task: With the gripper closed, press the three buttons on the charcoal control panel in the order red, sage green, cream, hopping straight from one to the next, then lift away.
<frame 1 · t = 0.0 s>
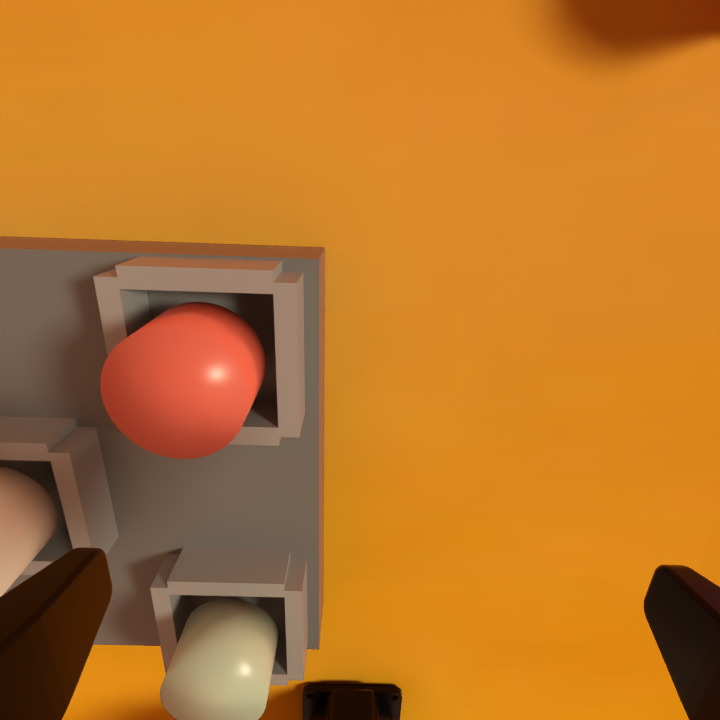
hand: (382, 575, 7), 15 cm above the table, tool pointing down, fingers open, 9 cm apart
red button: (191, 377, 15), point 6 cm above the table, slide at 0.0 cm
sage button: (223, 663, 20), point 6 cm above the table, slide at 0.0 cm
control panel: (159, 449, 24), on the table
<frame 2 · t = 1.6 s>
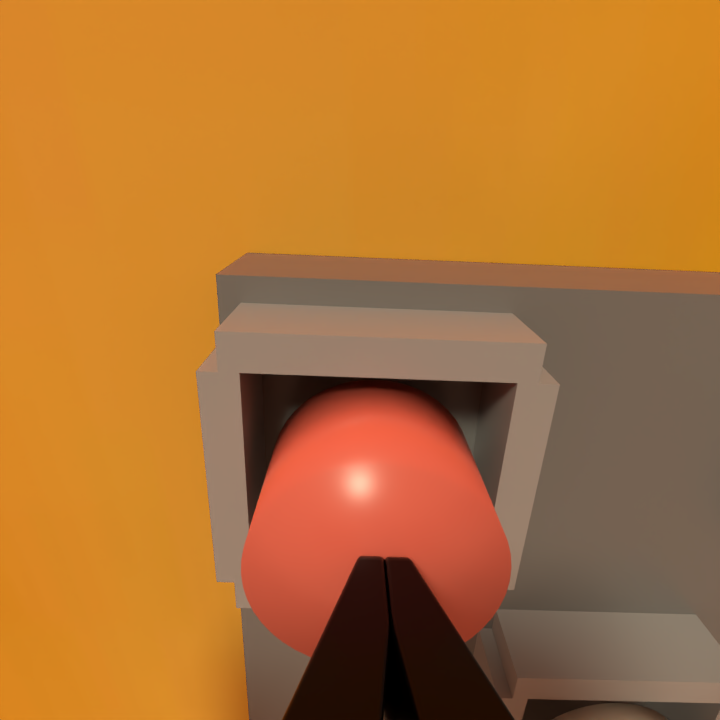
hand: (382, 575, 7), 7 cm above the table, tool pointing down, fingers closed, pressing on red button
red button: (373, 514, 9), point 6 cm above the table, slide at 0.6 cm, touching gripper
control panel: (562, 513, 16), on the table
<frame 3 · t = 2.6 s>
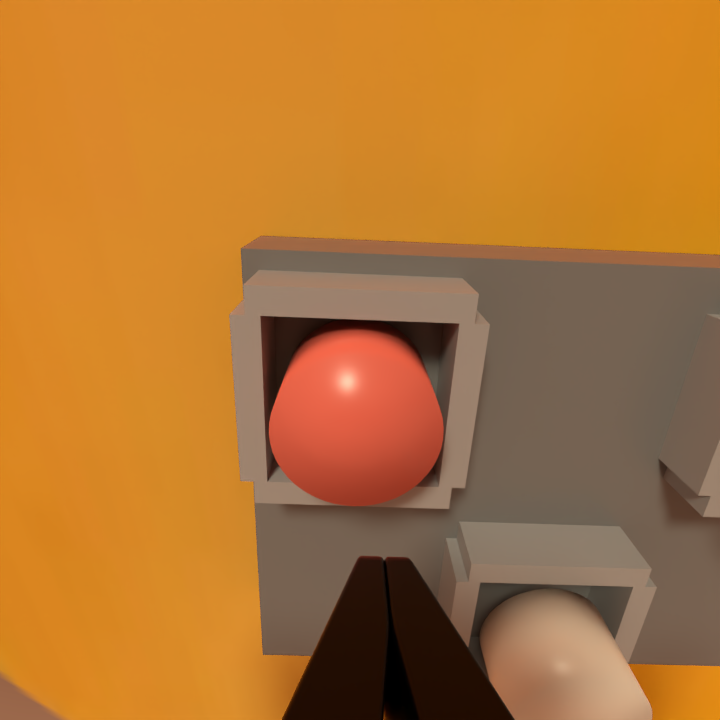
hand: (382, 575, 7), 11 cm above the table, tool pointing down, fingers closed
cream button: (557, 675, 15), point 6 cm above the table, slide at 0.0 cm
red button: (356, 407, 13), point 5 cm above the table, slide at 1.3 cm
control panel: (518, 453, 19), on the table
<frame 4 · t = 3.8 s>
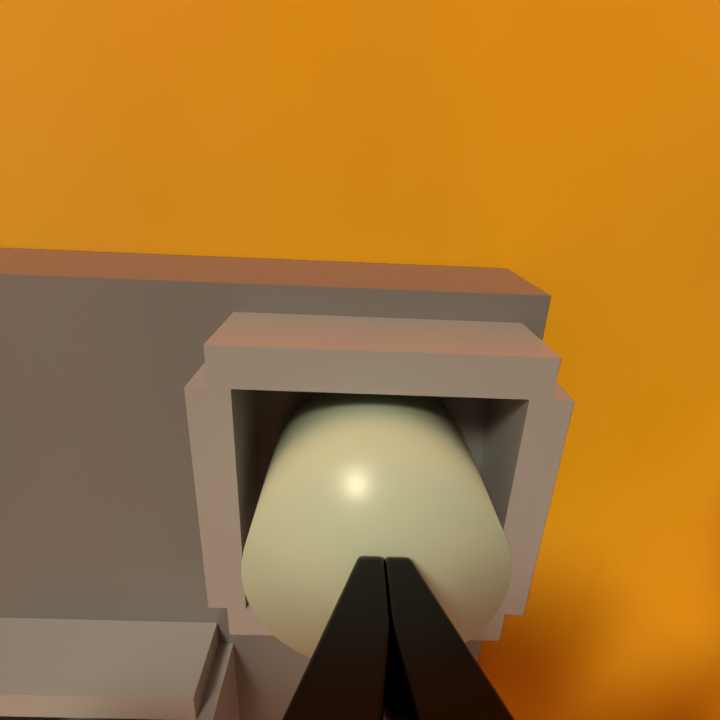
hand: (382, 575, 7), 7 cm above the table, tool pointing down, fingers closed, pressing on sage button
sage button: (373, 515, 9), point 5 cm above the table, slide at 1.3 cm, touching gripper
control panel: (148, 514, 15), on the table
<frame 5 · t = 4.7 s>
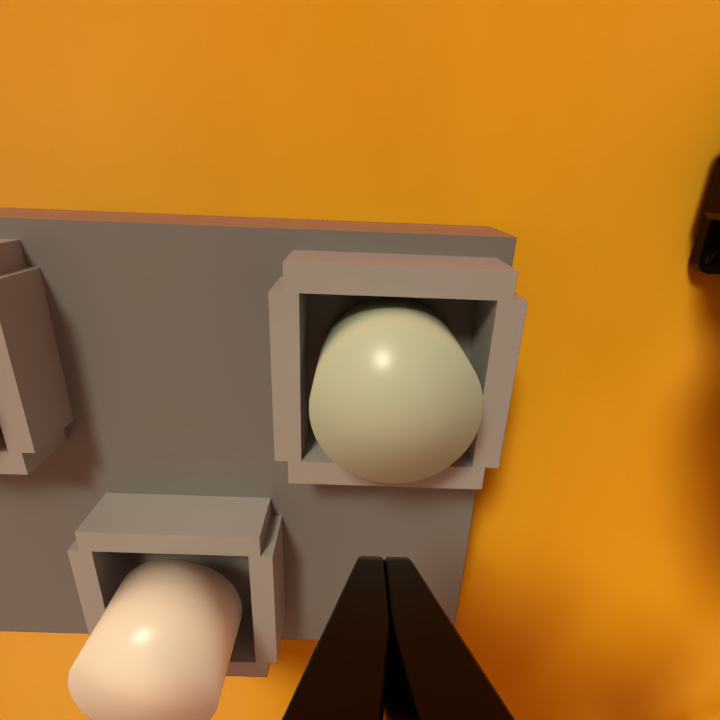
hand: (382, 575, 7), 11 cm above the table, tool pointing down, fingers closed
cream button: (163, 645, 15), point 6 cm above the table, slide at 0.0 cm
sage button: (392, 386, 13), point 5 cm above the table, slide at 1.3 cm
control panel: (210, 427, 19), on the table
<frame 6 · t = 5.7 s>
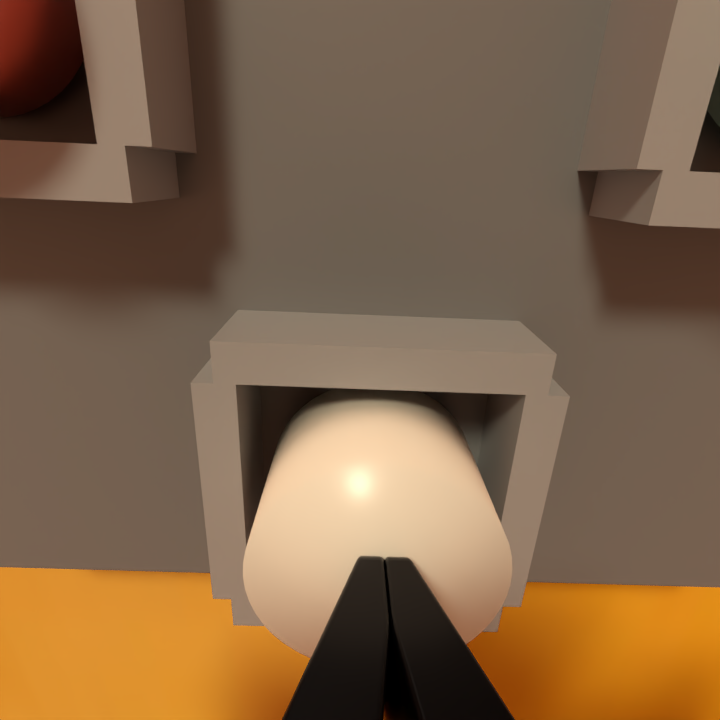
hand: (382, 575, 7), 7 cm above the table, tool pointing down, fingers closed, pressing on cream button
cream button: (374, 516, 9), point 5 cm above the table, slide at 1.0 cm, touching gripper
control panel: (376, 243, 12), on the table
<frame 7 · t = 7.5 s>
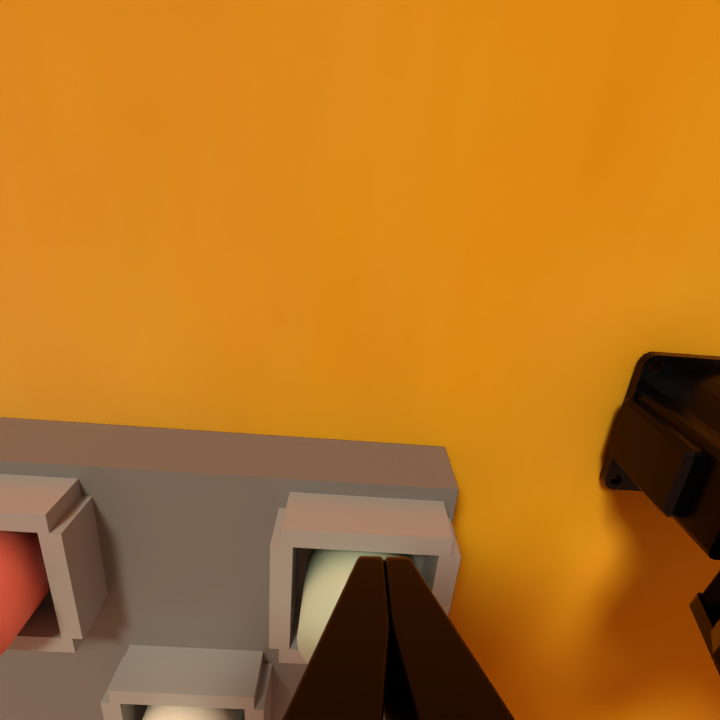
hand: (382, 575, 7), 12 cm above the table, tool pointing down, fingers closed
sage button: (360, 603, 17), point 5 cm above the table, slide at 1.3 cm
control panel: (214, 576, 23), on the table
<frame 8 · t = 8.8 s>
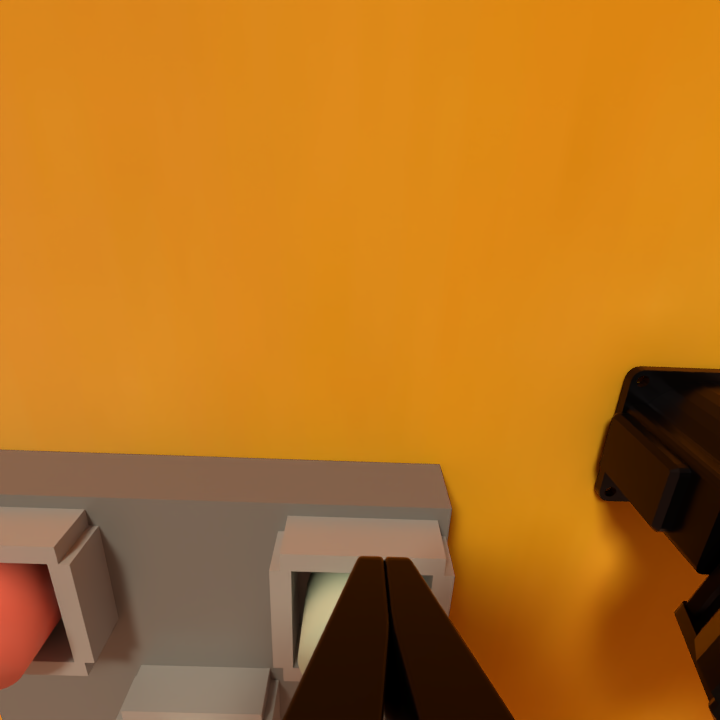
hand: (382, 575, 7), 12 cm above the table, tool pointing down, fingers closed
sage button: (359, 623, 18), point 5 cm above the table, slide at 1.3 cm
control panel: (221, 595, 24), on the table
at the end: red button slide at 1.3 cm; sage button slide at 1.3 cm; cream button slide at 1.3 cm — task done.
